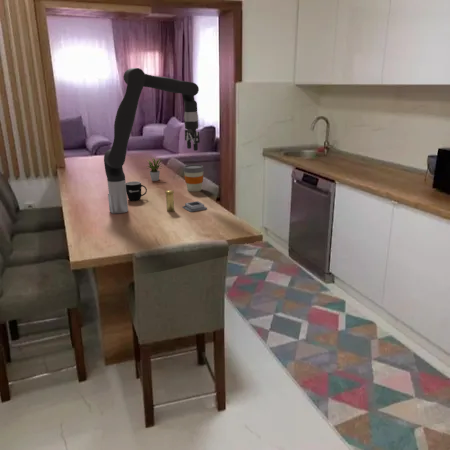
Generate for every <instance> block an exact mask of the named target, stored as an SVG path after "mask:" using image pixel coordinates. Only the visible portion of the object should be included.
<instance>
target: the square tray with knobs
mask: <svg viewBox="0 0 450 450" xmlns="http://www.w3.org/2000/svg"><path fill="white" fill-rule="evenodd" d="M182 208H183V209H184V210H186V211H188V212H190V213H192V212H199V211H204V210H207V209H208V207H206V206H205V204H204V203H202V202H201V201H198V200H197V201H191V202H190V201H189V202H185V203H184V205H182Z"/></svg>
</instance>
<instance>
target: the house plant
mask: <svg viewBox="0 0 450 450" xmlns="http://www.w3.org/2000/svg"><path fill="white" fill-rule="evenodd" d="M150 158H151V159H152V161H153V162H151V161H150V160H149V159H147V161H146V160H145V161H146V162H147V163H148V165H146V167H147V168H146V169H147V170H148V169H149V170H150V171H149V175H150V179H151V180H150V181H153V182H157V181H160V171H161V170H159V169H162V168H163V166H161V165H162V163H161V162H162V161H163V159H162V157H160V158H158V159H157V160H155V159H156V158H154V157H150Z"/></svg>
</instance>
